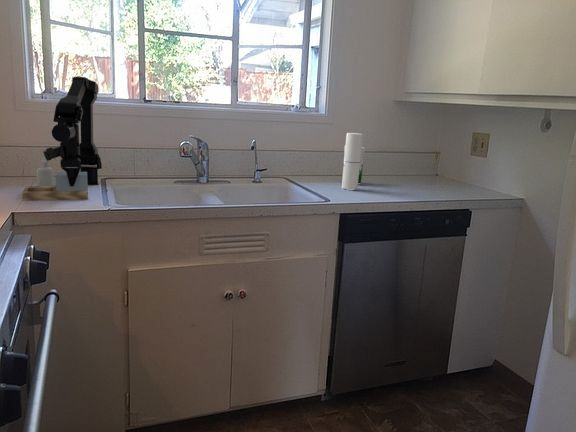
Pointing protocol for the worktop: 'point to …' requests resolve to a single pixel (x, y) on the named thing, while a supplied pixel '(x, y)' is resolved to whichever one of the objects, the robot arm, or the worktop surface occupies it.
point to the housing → (64, 185)
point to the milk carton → (360, 163)
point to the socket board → (51, 194)
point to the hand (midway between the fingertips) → (72, 183)
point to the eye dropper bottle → (45, 174)
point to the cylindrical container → (352, 160)
